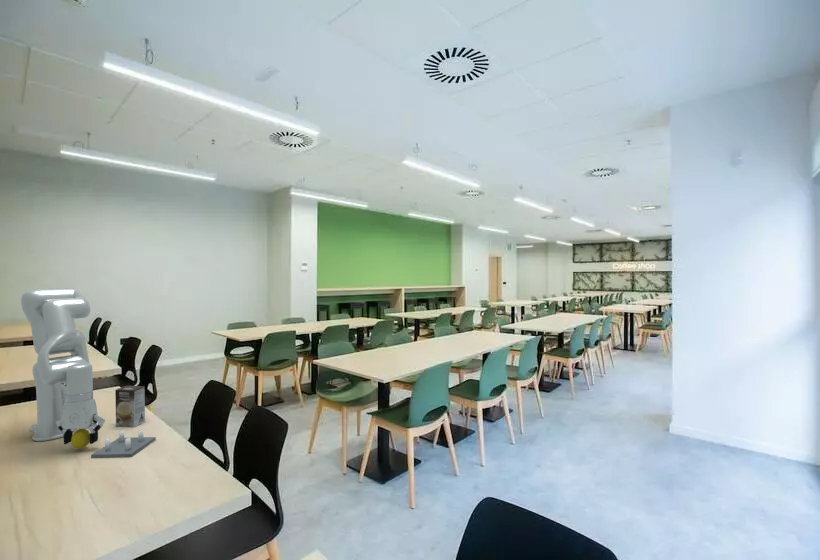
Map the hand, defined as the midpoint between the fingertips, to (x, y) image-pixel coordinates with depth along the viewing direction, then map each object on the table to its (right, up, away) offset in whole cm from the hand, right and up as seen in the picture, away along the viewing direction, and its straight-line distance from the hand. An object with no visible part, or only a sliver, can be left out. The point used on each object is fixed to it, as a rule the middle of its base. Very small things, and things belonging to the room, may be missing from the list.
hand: (81, 442), depth 144 cm
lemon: (0, -3, 0) cm, 3 cm away
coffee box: (+1, -2, +24) cm, 24 cm away
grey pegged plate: (+16, -3, +1) cm, 16 cm away
